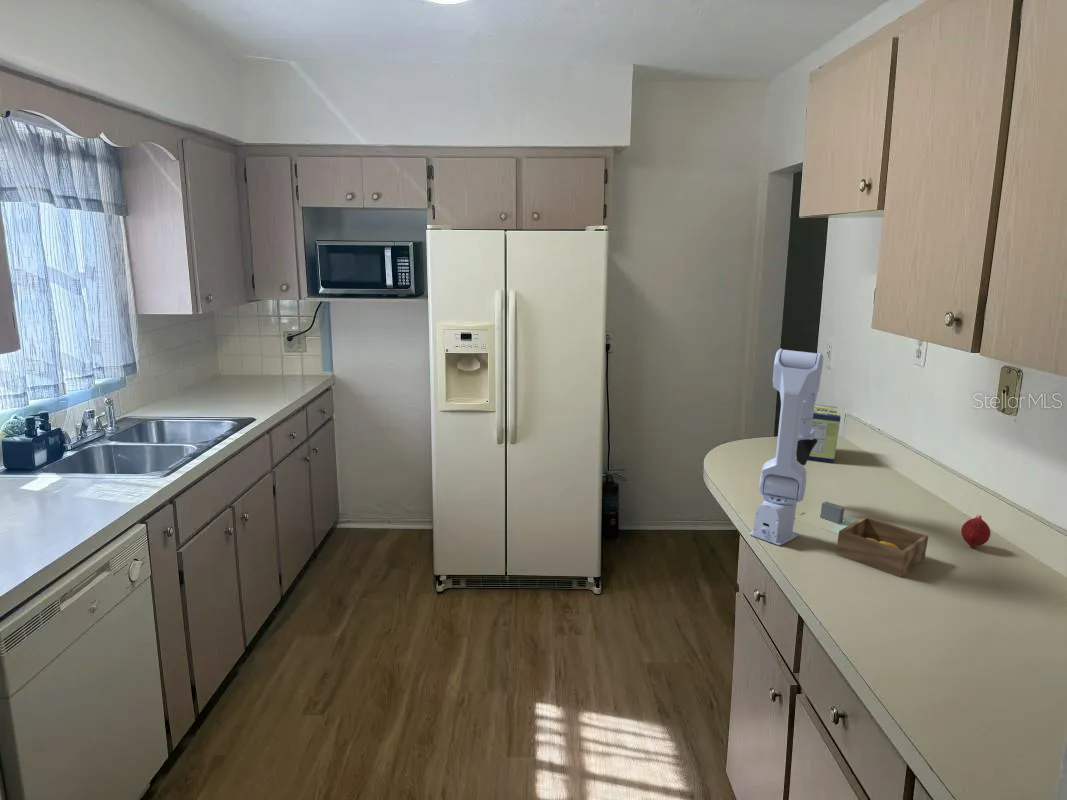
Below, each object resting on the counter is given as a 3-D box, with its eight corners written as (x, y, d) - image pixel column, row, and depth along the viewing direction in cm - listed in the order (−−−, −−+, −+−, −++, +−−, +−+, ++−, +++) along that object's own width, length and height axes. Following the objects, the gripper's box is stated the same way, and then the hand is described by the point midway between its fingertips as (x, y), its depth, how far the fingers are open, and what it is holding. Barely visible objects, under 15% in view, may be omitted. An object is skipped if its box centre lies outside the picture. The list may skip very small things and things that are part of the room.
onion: (989, 554, 166) (996, 521, 164) (961, 549, 167) (967, 517, 166) (983, 544, 171) (990, 513, 169) (956, 540, 173) (962, 508, 171)
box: (900, 577, 152) (905, 552, 150) (835, 554, 161) (839, 531, 160) (924, 559, 161) (928, 535, 160) (861, 538, 171) (865, 516, 170)
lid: (845, 538, 172) (848, 520, 171) (792, 520, 182) (794, 502, 180) (869, 525, 181) (872, 507, 180) (817, 509, 191) (819, 491, 190)
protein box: (830, 451, 243) (837, 406, 240) (834, 464, 229) (841, 416, 225) (798, 446, 246) (804, 402, 243) (799, 459, 232) (806, 412, 228)
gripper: (802, 424, 178) (795, 476, 181) (828, 416, 188) (821, 465, 191) (776, 418, 183) (769, 469, 186) (803, 410, 193) (796, 459, 196)
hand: (794, 467), depth 189 cm, fingers open, 7 cm apart
